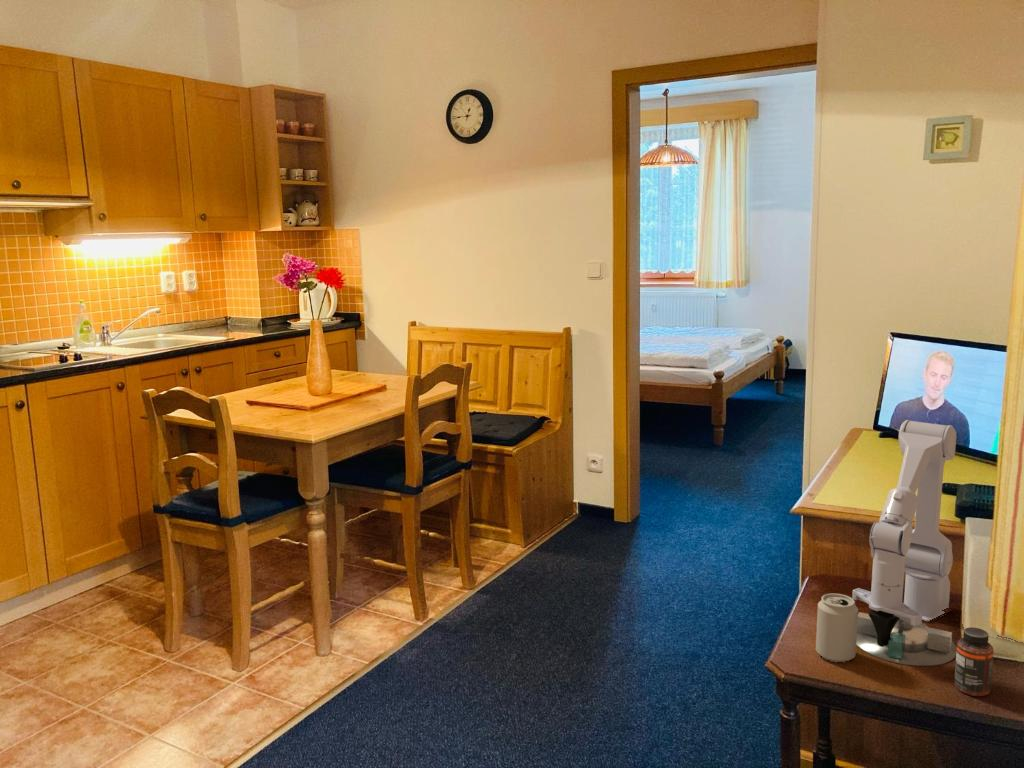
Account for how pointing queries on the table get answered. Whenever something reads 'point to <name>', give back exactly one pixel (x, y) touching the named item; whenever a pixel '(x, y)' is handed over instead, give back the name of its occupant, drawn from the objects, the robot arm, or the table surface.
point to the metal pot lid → (908, 637)
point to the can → (836, 627)
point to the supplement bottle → (974, 663)
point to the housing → (908, 658)
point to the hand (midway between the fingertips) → (883, 644)
